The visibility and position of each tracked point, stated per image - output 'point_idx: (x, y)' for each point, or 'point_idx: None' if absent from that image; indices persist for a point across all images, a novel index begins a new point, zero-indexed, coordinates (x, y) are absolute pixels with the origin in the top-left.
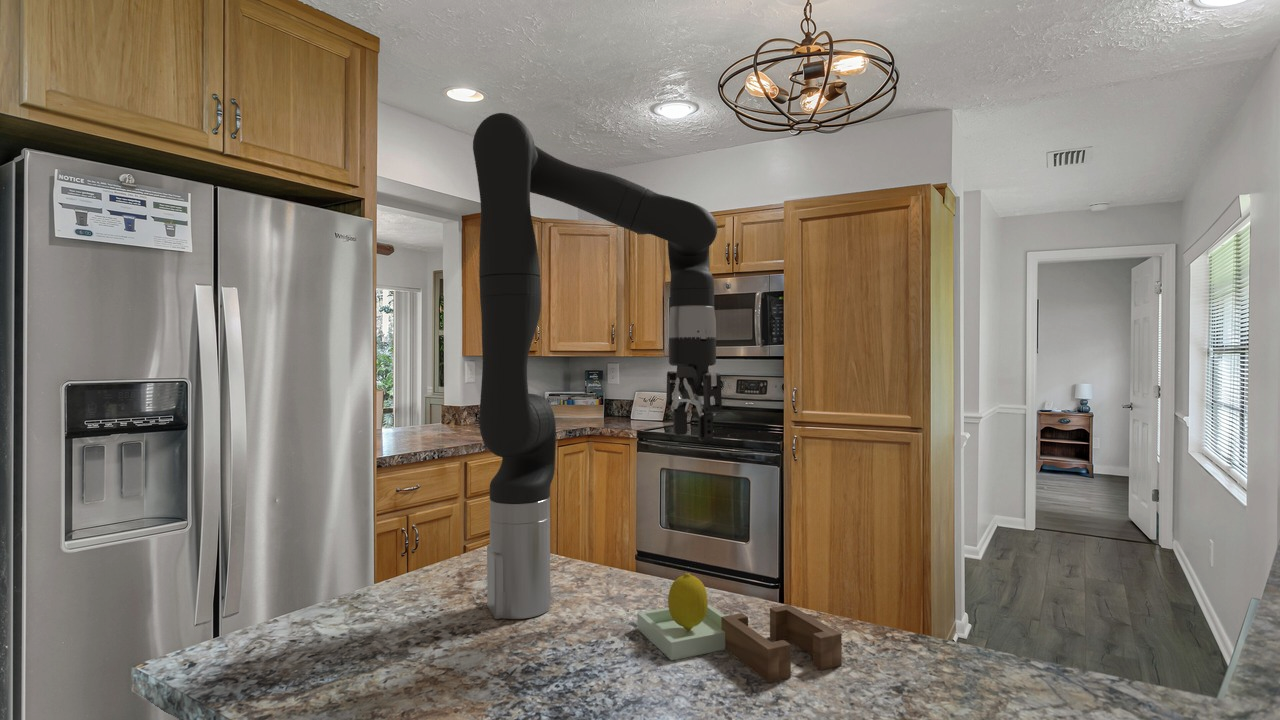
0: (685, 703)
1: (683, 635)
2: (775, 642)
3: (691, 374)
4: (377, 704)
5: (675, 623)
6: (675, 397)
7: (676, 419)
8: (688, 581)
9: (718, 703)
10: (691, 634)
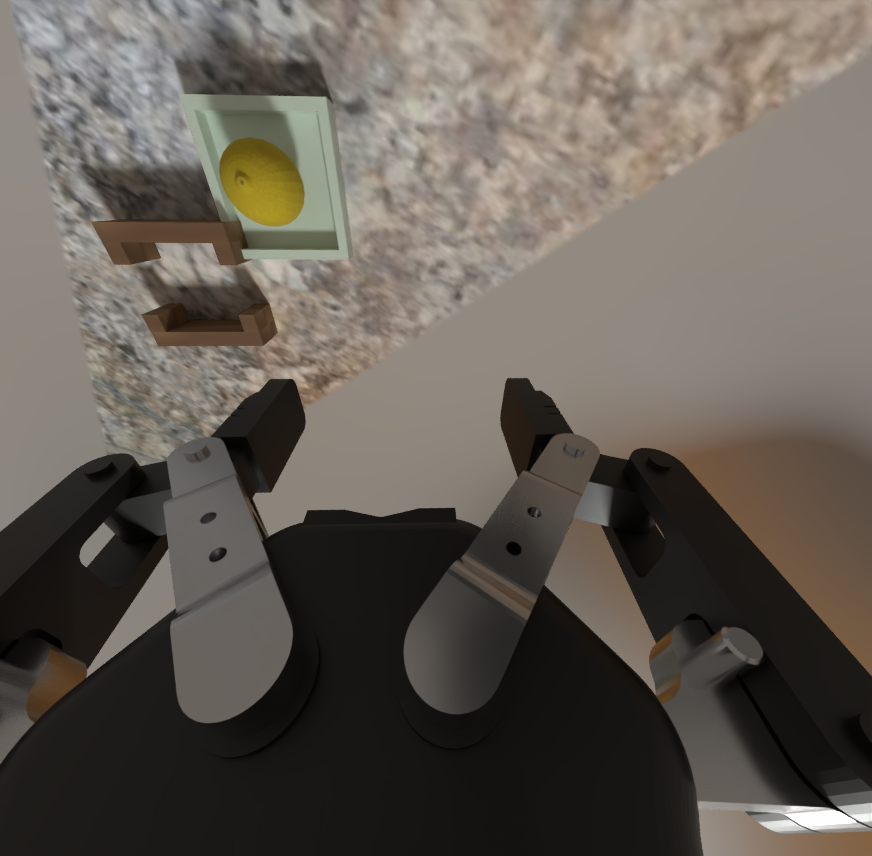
0: (37, 36)
1: None
2: (120, 248)
3: (163, 814)
4: None
5: (315, 180)
6: (514, 490)
7: (523, 416)
8: (227, 174)
9: (49, 102)
10: None
